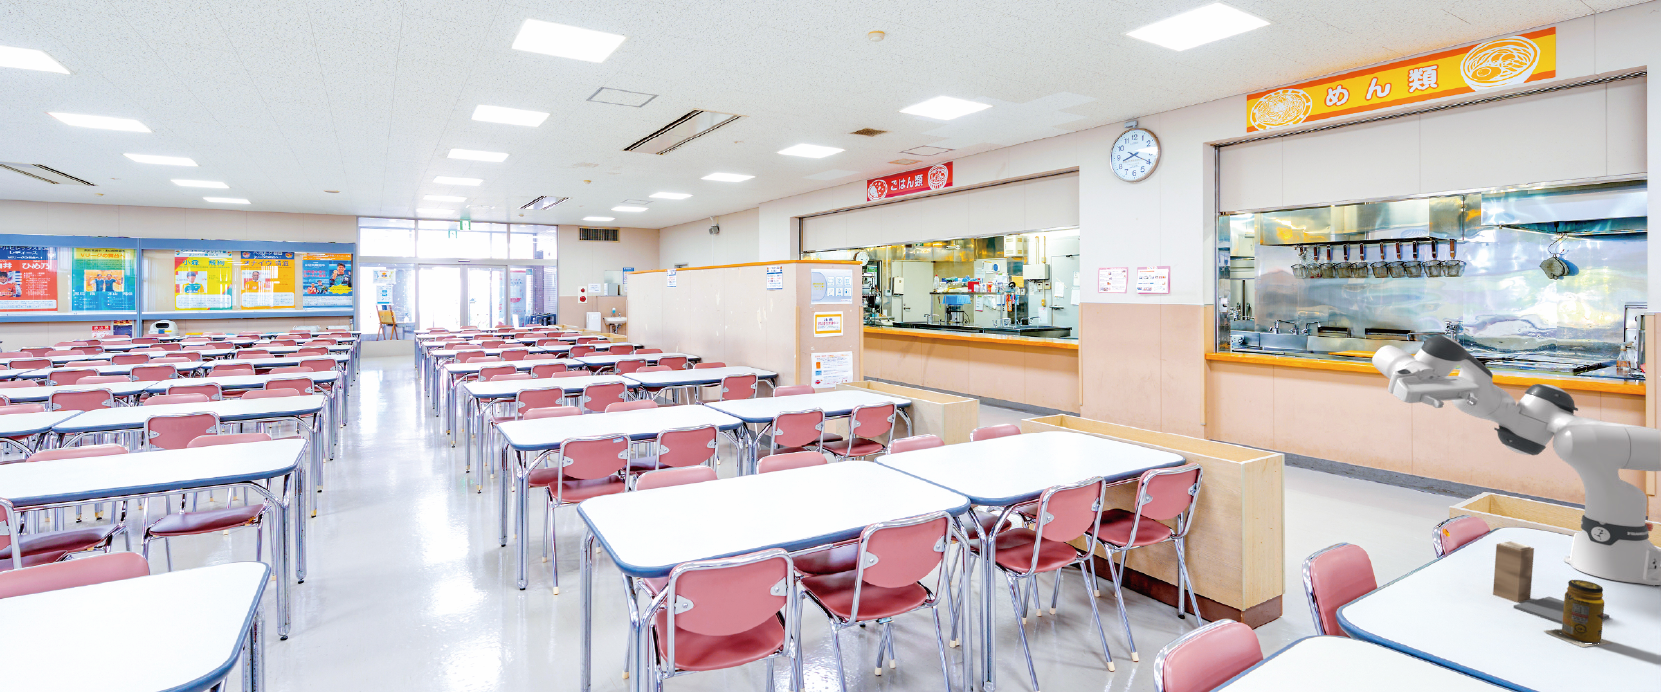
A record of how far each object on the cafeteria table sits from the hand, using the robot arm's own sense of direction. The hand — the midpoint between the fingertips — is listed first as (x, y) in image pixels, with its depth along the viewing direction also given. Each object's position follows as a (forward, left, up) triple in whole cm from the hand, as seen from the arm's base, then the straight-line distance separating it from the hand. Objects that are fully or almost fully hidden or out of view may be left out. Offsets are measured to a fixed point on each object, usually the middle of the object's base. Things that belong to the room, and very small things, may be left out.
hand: (1458, 404), depth 202 cm
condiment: (+22, +38, -44) cm, 62 cm away
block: (+10, +20, -44) cm, 49 cm away
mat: (+10, +29, -44) cm, 54 cm away
